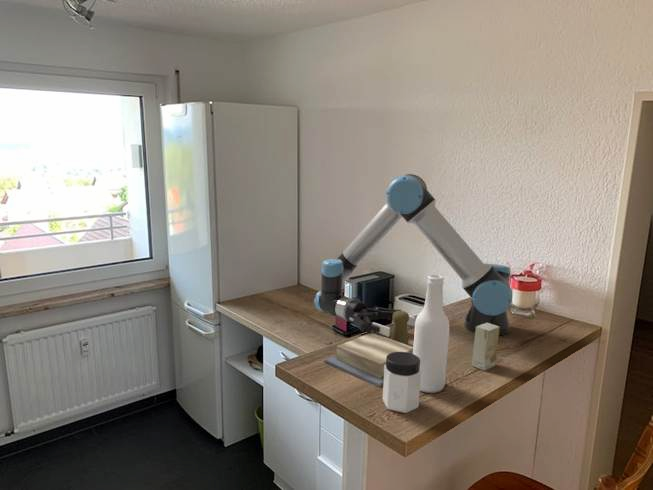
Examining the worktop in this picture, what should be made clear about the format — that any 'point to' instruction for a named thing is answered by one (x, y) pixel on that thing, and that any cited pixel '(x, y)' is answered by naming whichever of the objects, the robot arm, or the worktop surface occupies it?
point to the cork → (400, 327)
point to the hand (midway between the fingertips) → (402, 327)
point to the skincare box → (485, 346)
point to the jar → (401, 381)
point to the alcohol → (432, 338)
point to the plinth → (366, 356)
